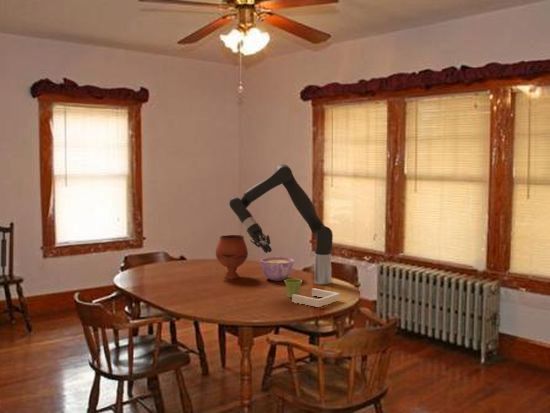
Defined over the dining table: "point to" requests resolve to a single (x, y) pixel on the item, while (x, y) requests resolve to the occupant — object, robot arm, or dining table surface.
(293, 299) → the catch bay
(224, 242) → the goblet
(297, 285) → the plant pot
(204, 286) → the dining table surface
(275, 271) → the bowl of food
